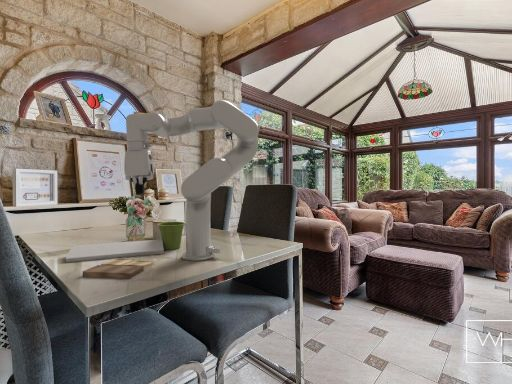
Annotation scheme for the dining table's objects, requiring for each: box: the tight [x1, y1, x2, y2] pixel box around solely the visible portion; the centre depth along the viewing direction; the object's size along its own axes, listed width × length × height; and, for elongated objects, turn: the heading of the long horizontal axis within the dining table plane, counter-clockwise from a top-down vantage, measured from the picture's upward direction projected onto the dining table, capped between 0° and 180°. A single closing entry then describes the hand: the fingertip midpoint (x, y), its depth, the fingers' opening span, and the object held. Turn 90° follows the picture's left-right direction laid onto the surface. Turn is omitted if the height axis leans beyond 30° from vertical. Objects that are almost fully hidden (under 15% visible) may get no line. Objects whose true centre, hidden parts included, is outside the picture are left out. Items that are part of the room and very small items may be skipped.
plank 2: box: [123, 260, 155, 271], centre depth 94 cm, size 8×7×2 cm
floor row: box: [82, 264, 145, 279], centre depth 87 cm, size 16×8×2 cm, turn 83°
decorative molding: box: [64, 238, 165, 263], centre depth 111 cm, size 34×5×10 cm
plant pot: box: [157, 221, 186, 251], centre depth 122 cm, size 12×12×11 cm
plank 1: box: [100, 257, 135, 266], centre depth 95 cm, size 8×7×2 cm
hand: (140, 194), depth 105 cm, fingers closed
